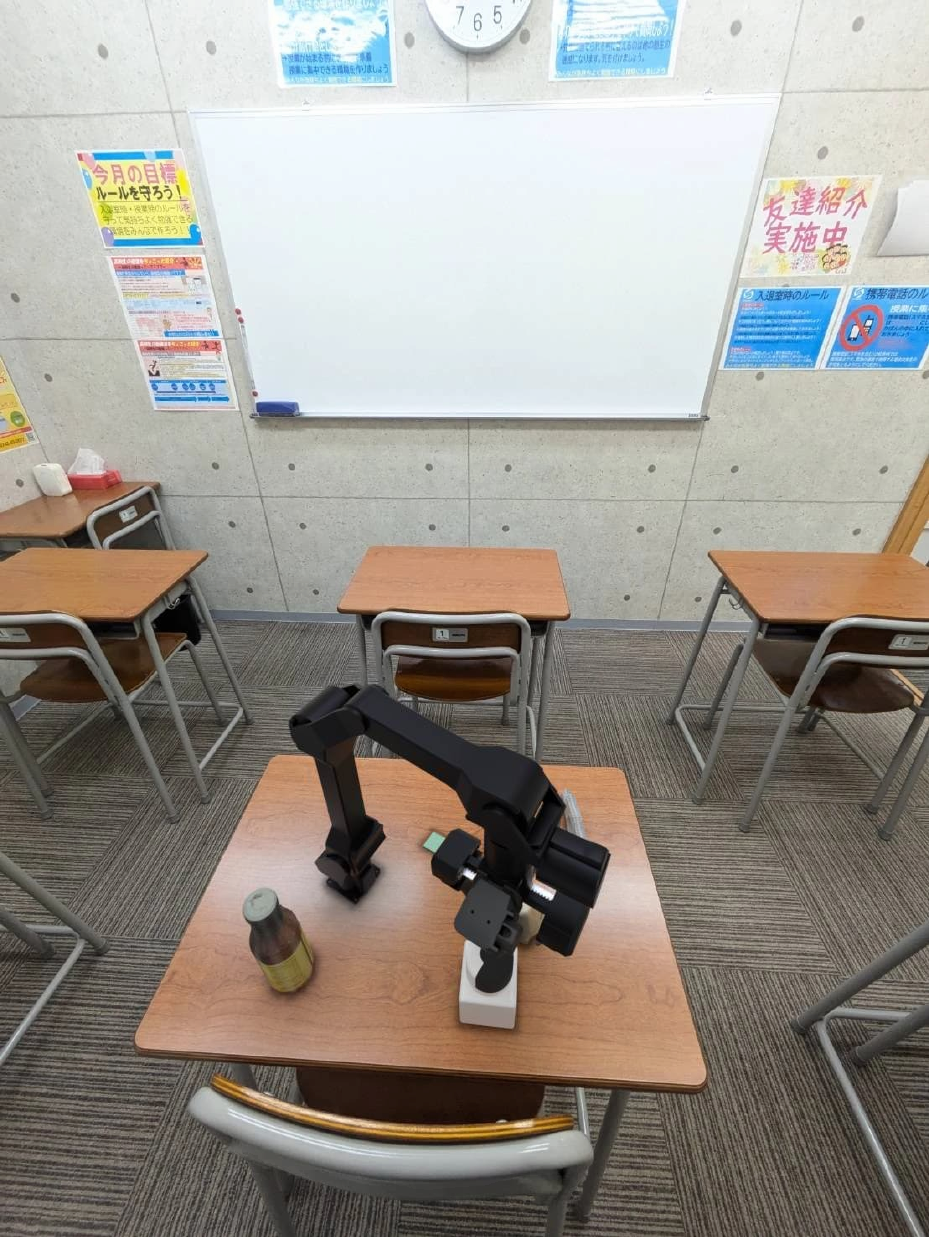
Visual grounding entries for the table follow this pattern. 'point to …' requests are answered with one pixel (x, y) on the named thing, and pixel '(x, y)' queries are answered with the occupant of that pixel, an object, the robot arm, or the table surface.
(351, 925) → the table surface
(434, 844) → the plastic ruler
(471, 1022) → the security camera
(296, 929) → the sauce bottle
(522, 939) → the beige rounded chunk
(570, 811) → the garden wall model
